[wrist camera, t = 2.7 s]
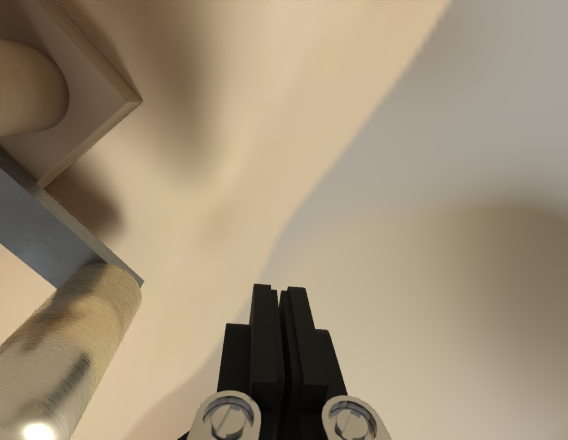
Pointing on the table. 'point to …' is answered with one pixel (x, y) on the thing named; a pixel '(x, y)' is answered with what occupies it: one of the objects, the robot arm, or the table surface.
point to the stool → (53, 89)
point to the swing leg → (58, 313)
